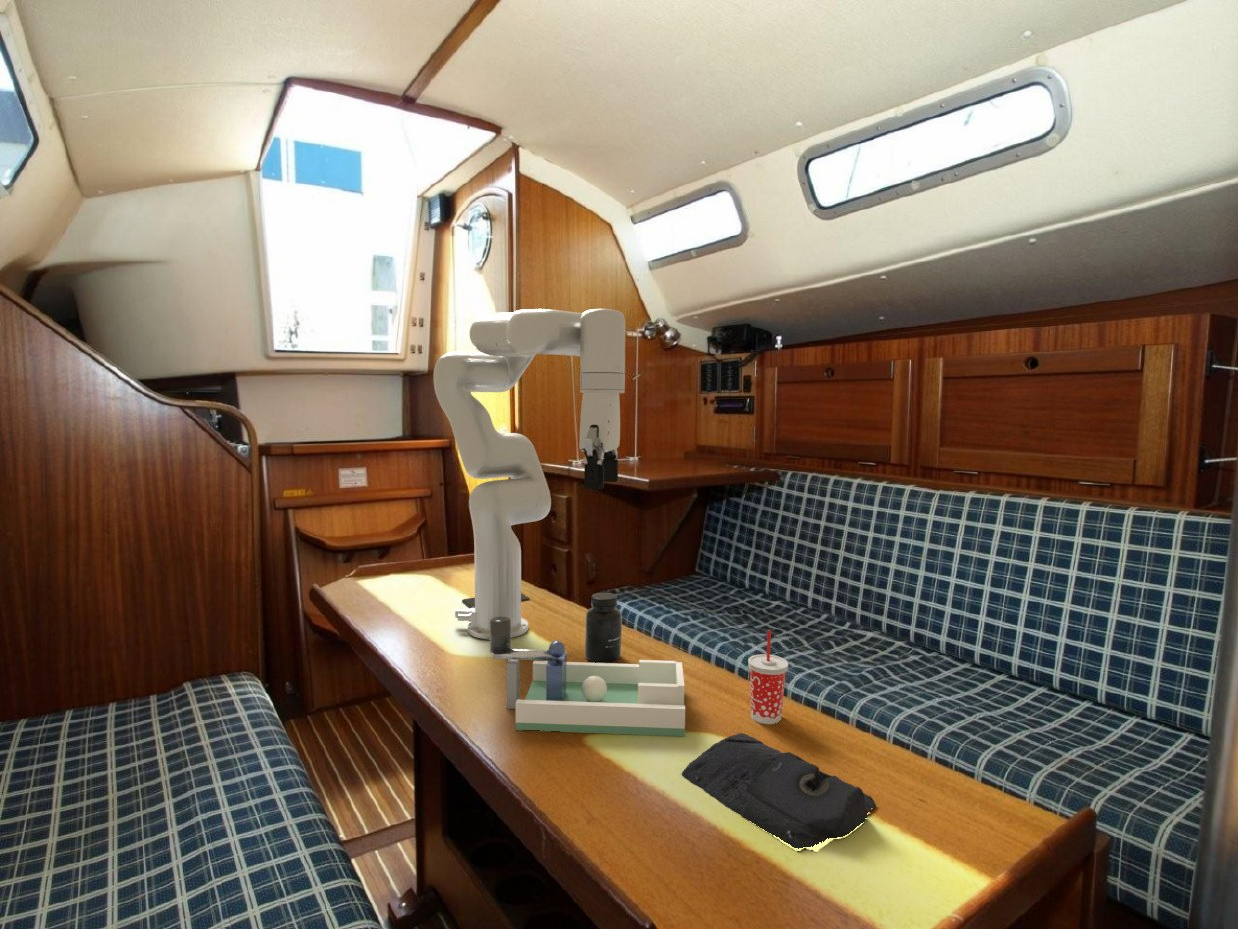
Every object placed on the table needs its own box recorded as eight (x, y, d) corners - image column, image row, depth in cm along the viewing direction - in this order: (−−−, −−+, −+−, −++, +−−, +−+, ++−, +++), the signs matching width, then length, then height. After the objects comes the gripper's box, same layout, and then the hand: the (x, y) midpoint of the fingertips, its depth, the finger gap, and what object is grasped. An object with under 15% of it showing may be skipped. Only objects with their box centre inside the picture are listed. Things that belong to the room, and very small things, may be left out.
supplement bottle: (617, 666, 126) (618, 602, 124) (581, 662, 127) (581, 599, 126) (624, 652, 132) (625, 592, 131) (589, 649, 134) (590, 589, 132)
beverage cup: (743, 707, 110) (746, 623, 108) (781, 708, 110) (785, 624, 108) (749, 726, 104) (752, 637, 102) (789, 727, 103) (793, 638, 102)
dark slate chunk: (748, 741, 100) (749, 710, 100) (887, 814, 83) (890, 777, 83) (671, 776, 91) (672, 742, 90) (811, 868, 74) (813, 826, 73)
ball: (580, 706, 107) (580, 681, 106) (582, 694, 111) (583, 671, 110) (605, 707, 107) (606, 682, 106) (607, 695, 111) (607, 672, 110)
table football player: (486, 703, 106) (485, 626, 105) (494, 686, 112) (494, 613, 111) (562, 706, 106) (562, 628, 105) (566, 689, 112) (567, 615, 110)
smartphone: (518, 594, 171) (460, 602, 163) (518, 590, 171) (460, 599, 163) (531, 601, 165) (471, 611, 157) (531, 598, 164) (471, 607, 157)
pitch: (496, 729, 101) (496, 682, 101) (517, 683, 117) (517, 642, 117) (684, 736, 100) (685, 688, 99) (679, 689, 116) (681, 647, 115)
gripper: (594, 385, 124) (594, 478, 126) (565, 383, 108) (565, 490, 109) (634, 385, 123) (633, 480, 124) (611, 383, 106) (610, 492, 108)
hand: (601, 485), depth 117 cm, fingers open, 9 cm apart
